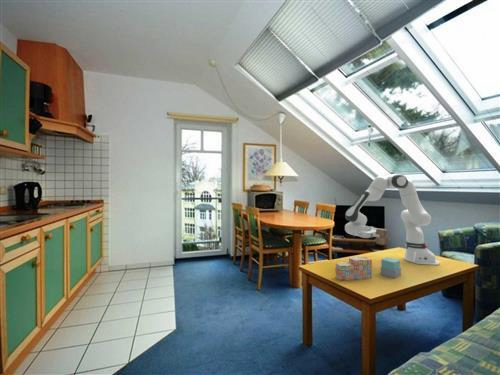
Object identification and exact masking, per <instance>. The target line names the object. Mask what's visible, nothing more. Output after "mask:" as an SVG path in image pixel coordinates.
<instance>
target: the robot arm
mask: <svg viewBox="0 0 500 375" xmlns="http://www.w3.org/2000/svg"><path fill="white" fill-rule="evenodd" d="M387 189H397V190H398V192H399V196H400V198H401V203H402V205H403V206H404V207H405V209H404V210H402V211H401V212H400V213H401V214H400V218H401V220H402V221H403V224H404V227H405V232H406V240H405V251H404V252H405V254H404V256H403V259H404V260H405V261H407V262H410V263H414V264H418V265H420V264H421V265H428V266H429V265H432V266H439V265H440V261H439V260H437V259H436V255H435V254H434V253H433V252H432V251H431V250H430V249H428V247H429V244H427V243H424V240H425V239H424V237H425V236H424V231H423V229H422V228H421V227H422V226H424V227H425V226H428V225H430V224H431V222H432V216H431V215H430V214H429V213H428V212H427V211H426V209H425V208H424V206H423V205H422V203H421V201H420V198H419V196H418V192H417V189H416V186H415V184H414V182H413V181H412V180H411V179H408V178H407V177H406V176H405V175H404V174H401V173H391V174H386V175H384V176H381V175H379V176H376V177H375V178H374V179H373V181H372V182H371V183H370V185H369V187H367V189H366V190H365V191H363V192H362V193H361V194H360V195H359V196H358V197H357V198H356V200H355V201H354V202H353V204H352V205H351V206H350V207H348V209H347V210H346V211H345V214H344V216H345V219H346V221H349V222H347V223H346V224H345V225H344V231H345V233H347V234H349V235H352V236H354V237H356V236H357V237H358V238H359V237H360V238H363V239H369V238H374V237H375V238H376V237H381V235H380V234H376V229H379V228H377V227H374V226H372V225H371V226H368V225H366V224H367V222H368V217H367V216H366V215H364V213H361V211H360V209H361V208H362V207H363V206H364V205H365V203H366V202H367V201H368V202H369V201H370V202H375V201H379V200H380V199H381V198H382V196H383V195H384V193H385V191H386V190H387Z"/></svg>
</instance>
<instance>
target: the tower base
mask: <svg viewBox="0 0 500 375" xmlns="http://www.w3.org/2000/svg"><path fill="white" fill-rule="evenodd" d="M380 275H382V276H385V277H390V278H393V279H397V278H399V277H400V276H402V267H400V268H398V269H396V270H391V269H387V268H383V267H380Z"/></svg>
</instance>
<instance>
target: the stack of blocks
mask: <svg viewBox="0 0 500 375" xmlns="http://www.w3.org/2000/svg"><path fill="white" fill-rule="evenodd" d="M372 263H373V261H372V259H371V258H369V257H366V256H353V257H348V261H347V262H346V261H345V262H336V263H335V278H336V279H338V280H340V281H354V280H369V279H370V280H371V279H372V274H373V273H372V270H373V264H372Z"/></svg>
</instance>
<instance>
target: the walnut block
mask: <svg viewBox="0 0 500 375" xmlns="http://www.w3.org/2000/svg"><path fill="white" fill-rule="evenodd" d="M376 234H380V235H381V237H375V244H377V245H380V246H386V245H387V244H388V229H386V228H378V229H376Z"/></svg>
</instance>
